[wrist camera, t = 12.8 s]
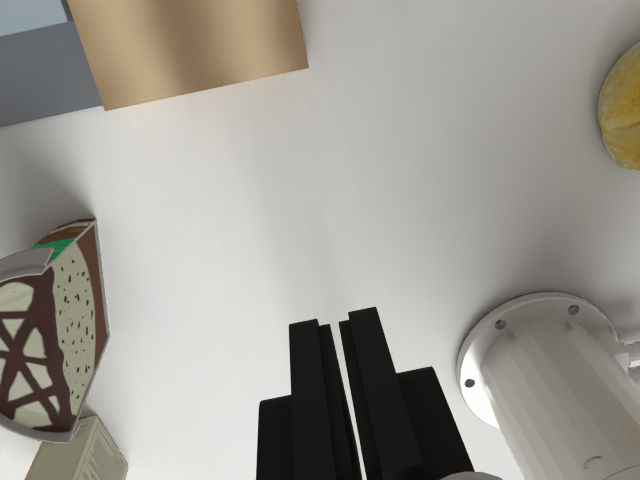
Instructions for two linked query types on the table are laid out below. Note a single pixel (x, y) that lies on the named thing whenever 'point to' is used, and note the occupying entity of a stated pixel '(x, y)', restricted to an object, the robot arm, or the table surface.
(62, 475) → the skincare box
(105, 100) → the wooden block
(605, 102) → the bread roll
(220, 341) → the table surface
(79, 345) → the food container
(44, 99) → the mat
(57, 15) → the tile
